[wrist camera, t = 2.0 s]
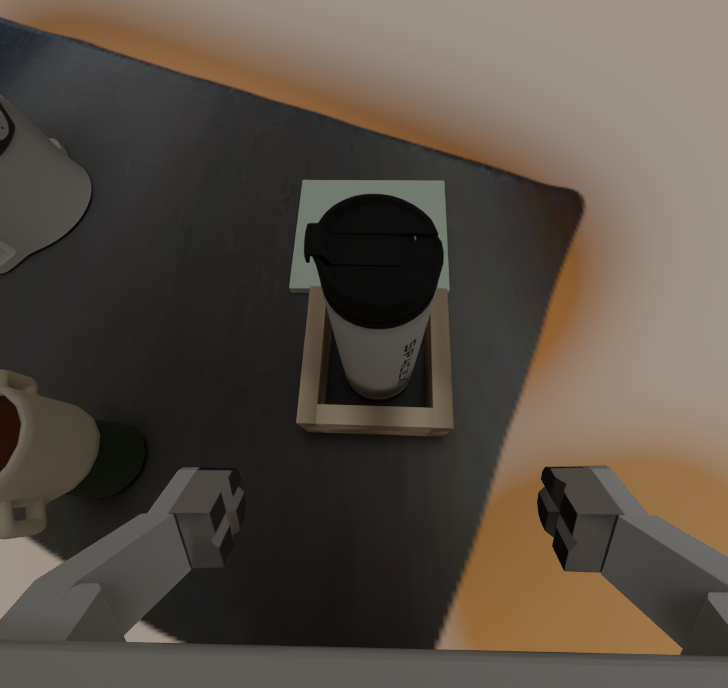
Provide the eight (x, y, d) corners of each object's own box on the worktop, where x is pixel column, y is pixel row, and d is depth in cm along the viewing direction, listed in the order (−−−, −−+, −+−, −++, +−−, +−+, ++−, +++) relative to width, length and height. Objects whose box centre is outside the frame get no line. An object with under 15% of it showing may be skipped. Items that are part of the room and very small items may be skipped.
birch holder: (307, 432, 34) (296, 422, 29) (318, 310, 38) (310, 285, 33) (442, 436, 33) (453, 428, 28) (438, 313, 37) (447, 288, 33)
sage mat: (291, 292, 39) (289, 287, 38) (304, 186, 44) (302, 180, 43) (447, 295, 38) (449, 290, 37) (442, 187, 43) (444, 180, 42)
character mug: (68, 417, 35) (-98, 378, 23) (144, 389, 35) (23, 338, 23) (79, 540, 31) (-113, 573, 19) (164, 506, 32) (32, 517, 20)
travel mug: (342, 338, 37) (306, 184, 18) (410, 338, 36) (445, 181, 18) (340, 402, 34) (296, 300, 16) (412, 402, 34) (455, 299, 16)
